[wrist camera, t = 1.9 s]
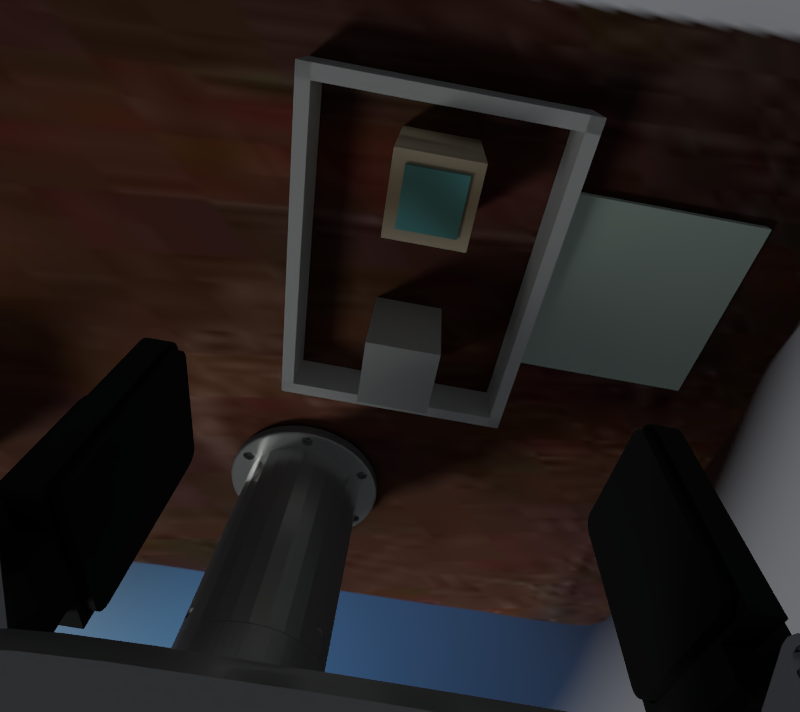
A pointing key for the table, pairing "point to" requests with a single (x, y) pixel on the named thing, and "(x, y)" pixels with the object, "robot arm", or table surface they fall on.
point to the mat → (639, 290)
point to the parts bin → (540, 266)
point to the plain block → (401, 355)
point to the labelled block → (434, 189)
